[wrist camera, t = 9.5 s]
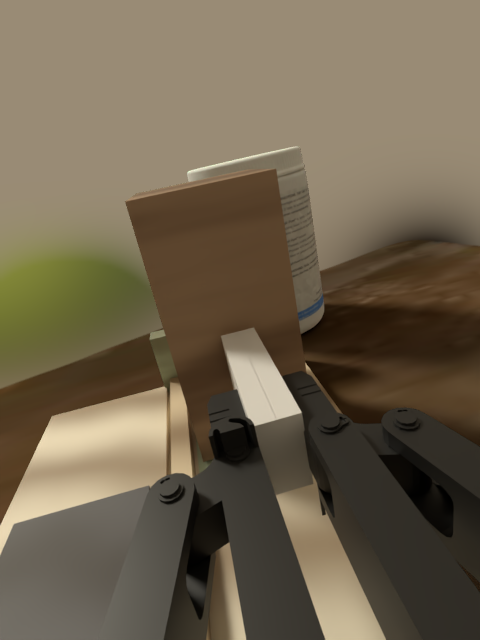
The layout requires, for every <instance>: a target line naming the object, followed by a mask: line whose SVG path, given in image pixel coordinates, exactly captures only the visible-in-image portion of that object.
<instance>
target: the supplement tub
mask: <svg viewBox="0 0 480 640" xmlns="http://www.w3.org/2000/svg"><path fill="white" fill-rule="evenodd" d="M304 167H305V165H304V163H303V161H302V154H301V149H300V147H299V146H296V147H291V148H286V149H281V150H277V151H272V152H267V153H263V154H259V155H254V156H250V157H245V158H241V159H237V160H232V161H228V162H224V163H220V164H215V165H211V166H207V167H203V168H199V169H195V170H191V171H188V172H187V176H188V180H189V182H192V181H197V180H201V179H206V178H210V177H215V176H220V175H224V174H229V173H233V172H238V171H243V170H248V169H276V171H277V177H278V184H279V191H280V197H281V204H282V211H283V218H284V224H285V231H286V238H287V244H288V251H289V258H290V265H291V271H292V278H293V285H294V291H295V298H296V305H297V311H298V318H299V325H300V332H301V334H302V333H304V332H306V331H308V330H310V329H311V328H313V327H314V326H315V325H316V324H317V323H318V322H319V321H320V320H321V318H322V316H323V313H324V301H323V293H322V285H321V278H320V271H319V265H318V256H317V249H316V242H315V234H314V227H313V219H312V212H311V205H310V197H309V190H308V184H307V177H306V171H305V169H304Z"/></svg>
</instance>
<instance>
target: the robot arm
mask: <svg viewBox="0 0 480 640" xmlns="http://www.w3.org/2000/svg"><path fill="white" fill-rule="evenodd" d="M221 339H222V343H223V347H224V351H225V355H226V360H227V364H228V368H229V372H230V376H231V380H232V385H233V389H234V390H232V391H228V392H224V393H221V394H217V395H213V396H211V398H210V400H209V402H208V404H207V408H208V414H209V419H210V425H211V429H210V430H209V436H208V437H209V440H210V444H211V447H212V451H213V454H214V459H213V461H212V462H211V464H210V465H209V466H208V467H207V468H206V469H205V470H204V471H202V472H201V473H199V474H198V475H196V476H194V477H192V478H191V477H190V476H188V475H186V474H184V473H174V474H170V475H166V476H165V477H163V478H161V479H159V480H158V481H157V482H156V483H155V484H154V485H152V486H151V488H150V490H149V492H148V493H147V496H146V499H145V502H144V505H143V508H142V511H141V514H140V516H139V519H138V522H137V525H136V528H135V531H134V534H133V537H132V540H131V543H130V546H129V549H128V552H127V555H126V558H125V561H124V564H123V567H122V569H121V572H120V575H119V578H118V581H117V584H116V587H115V590H114V593H113V596H112V599H111V602H110V605H109V608H108V611H107V614H106V617H105V619H104V622H103V625H102V628H101V631H100V634H99V637H98V640H206V637H207V629H208V620H209V612H210V603H211V595H212V586H213V578H214V569H215V561H216V551H217V550H219V549H220V548H221V547H223V546H224V545H226V544H227V543H230V549H231V555H232V560H233V566H234V572H235V578H236V583H237V589H238V595H239V601H240V606H241V612H242V618H243V624H244V629H245V635H246V640H325V637H324V634H323V631H322V628H321V625H320V623H319V620H318V617H317V614H316V611H315V608H314V605H313V602H312V599H311V596H310V593H309V590H308V588H307V585H306V582H305V579H304V576H303V573H302V570H301V567H300V564H299V561H298V558H297V556H296V553H295V550H294V547H293V544H292V541H291V538H290V535H289V532H288V529H287V526H286V524H285V521H284V518H283V515H282V512H281V509H280V506H279V503H278V500H277V497H276V495H278V494H281V493H284V492H288V491H291V490H294V489H298V488H301V487H304V486H308V485H311V484H313V478H312V474H313V476H314V478H315V480H316V482H317V486H318V493H319V499H320V505H321V511H322V516H323V515H326V512H327V514H328V516H329V519H330V521H331V523H332V525H333V527H334V529H335V531H336V534H337V536H338V538H339V540H340V542H341V544H342V546H343V549H344V551H345V553H346V555H347V557H348V559H349V561H350V563H351V566H352V568H353V570H354V572H355V574H356V576H357V578H358V581H359V583H360V585H361V587H362V589H363V591H364V593H365V595H366V598H367V600H368V602H369V604H370V606H371V608H372V610H373V613H374V615H375V617H376V619H377V621H378V623H379V625H380V628H381V630H382V632H383V634H384V636H385V638H386V640H480V592H479V591H478V589H477V588H476V587H475V585H474V584H473V583H472V581H471V580H470V579H469V577H468V576H467V575H466V573H465V572H464V570H463V569H462V568H461V566H460V565H459V564H458V563H460V564H461V565H462V566H463V567H464V568H465V569H466V570H467V571H468V572H469V573H470V574H471V575H472V576H473V577H475V578H476V579H477V580H478V581H479V582H480V447H479V446H478V445H476V444H474V443H473V442H471V441H469V440H468V439H466V438H465V437H463V436H461V435H460V434H458V433H456V432H455V431H453V430H451V429H450V428H448V427H446V426H445V425H443V424H441V423H440V422H438V421H437V420H435V419H433V418H432V417H430V416H428V415H427V414H425V413H423V412H421V411H419V410H416V409H412V408H395V409H392V410H389V411H388V412H386V413H385V414H384V415H383V417H382V420H381V422H382V423H377V424H358V423H353V421H352V420H351V419H350V418H349V417H348V416H346V415H344V414H341V413H338V412H337V411H336V410H335V408H334V407H333V405H332V404H331V403H330V401H329V400H328V398H327V397H326V396H325V394H324V393H323V391H321V389H320V387H319V386H318V385H317V383H316V382H315V380H314V379H313V377H312V376H311V375H309V374H307V373H305V372H303V371H298V372H295V373H291V374H287V375H283V376H281V375H280V373H279V371H278V369H277V368H276V366H275V364H274V362H273V361H272V359H271V357H270V355H269V354H268V352H267V350H266V348H265V346H264V345H263V343H262V341H261V339H260V338H259V336H258V334H257V332H256V331H255V329H254V328H250V329H246V330H242V331H238V332H234V333H230V334H226V335H222V336H221ZM325 510H326V512H325Z"/></svg>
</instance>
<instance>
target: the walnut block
mask: <svg viewBox="0 0 480 640" xmlns="http://www.w3.org/2000/svg"><path fill="white" fill-rule="evenodd" d="M125 202H126V206H127V209H128V212H129V216H130V219H131V222H132V226H133V229H134V232H135V236H136V239H137V242H138V245H139V248H140V252H141V255H142V259H143V262H144V266H145V269H146V272H147V275H148V279H149V282H150V286H151V289H152V292H153V296H154V299H155V302H156V305H157V309H158V312H159V315H160V319H161V322H162V325H163V329H164V332H165V335H166V339H167V342H168V345H169V349H170V352H171V355H172V359H173V362H174V365H175V369H176V372H177V375H178V379H179V382H180V385H181V389H182V392H183V395H184V399H185V402H186V405H187V409H188V412H189V415H190V419H191V422H192V425H193V429H194V432H195V435H196V439H197V442H198V445H199V449H200V452H201V455H202V459H203V462H205V461H209V460H212V459H214V454H213V451H212V447H211V444H210V440H209V437H208V436H209V430H210V429H211V425H210V419H209V414H208V408H207V404H208V402H209V400H210V398H211V396H213V395H217V394H221V393H224V392H228V391H232V390H234V389H233V385H232V380H231V376H230V372H229V368H228V364H227V360H226V355H225V351H224V347H223V343H222V339H221V336H222V335H226V334H230V333H234V332H238V331H242V330H246V329H250V328H254V329H255V331H256V332H257V334H258V336H259V338H260V339H261V341H262V343H263V345H264V346H265V348H266V350H267V352H268V354H269V355H270V357H271V359H272V361H273V362H274V364H275V366H276V368H277V369H278V371H279V373H280V375H281V376H283V375H287V374H291V373H295V372H298V371H303V372H305V373H307V372H306V365H305V358H304V352H303V345H302V338H301V332H300V325H299V318H298V311H297V305H296V298H295V291H294V285H293V278H292V271H291V265H290V258H289V251H288V244H287V238H286V231H285V224H284V218H283V211H282V204H281V197H280V191H279V184H278V177H277V171H276V169H248V170H243V171H238V172H233V173H229V174H224V175H220V176H215V177H210V178H206V179H201V180H197V181H192V182H188V183H183V184H178V185H174V186H169V187H165V188H160V189H155V190H151V191H146V192H142V193H137V194H135V195H134V196H132V197H131V198H130V199H128V200H127V201H125Z"/></svg>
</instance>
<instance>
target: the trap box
mask: <svg viewBox="0 0 480 640" xmlns="http://www.w3.org/2000/svg"><path fill="white" fill-rule="evenodd" d="M150 342H151V345H152V348H153V351H154V354H155V357H156V361H157V364H158V367H159V370H160V373H161V376H162V379H163V382H164V386H165V387H161V388H158V389H154V390H150V391H146V392H142V393H139V394H135V395H131V396H127V397H123V398H120V399H116V400H112V401H108V402H104V403H101V404H97V405H93V406H89V407H85V408H82V409H78V410H74V411H70V412H66V413H63V414H59V415H55V416H52V417H51V420H50V422H49V424H48V426H47V428H46V430H45V432H44V434H43V436H42V439H41V441H40V443H39V445H38V447H37V449H36V451H35V453H34V456H33V458H32V460H31V462H30V464H29V466H28V468H27V470H26V472H25V475H24V477H23V479H22V481H21V483H20V485H19V487H18V489H17V492H16V494H15V496H14V498H13V500H12V502H11V504H10V506H9V508H8V511H7V513H6V515H5V517H4V519H3V521H2V523H1V525H0V640H98V637H99V634H100V631H101V628H102V625H103V622H104V619H105V617H106V614H107V611H108V608H109V605H110V602H111V599H112V596H113V593H114V590H115V587H116V584H117V581H118V578H119V575H120V572H121V569H122V567H123V564H124V561H125V558H126V555H127V552H128V549H129V546H130V543H131V540H132V537H133V534H134V531H135V528H136V525H137V522H138V519H139V516H140V514H141V511H142V508H143V505H144V502H145V499H146V496H147V493H148V492H149V490H150V488H151V486H152V485H154V484H155V483H156V482H157V481H158V480H159V479H161V478H163V477H165V476H166V475H170V474H174V473H184V474H186V475H188V476H190V477H191V478H192V477H194V476H196V475H198V474H199V473H201V472H202V471H204V470H205V469H206V468H207V467H208V466H209V465H210V464H211V462H212V461H213V459H212V460H209V461H205V462H203V459H202V455H201V452H200V449H199V445H198V442H197V439H196V435H195V432H194V429H193V425H192V422H191V419H190V415H189V412H188V409H187V405H186V402H185V399H184V395H183V392H182V389H181V385H180V382H179V379H178V375H177V372H176V369H175V365H174V362H173V359H172V355H171V352H170V349H169V345H168V342H167V339H166V335H165V332H164V330H160V331H156V332H152V333H151V334H150ZM305 365H306V372H307V374H309V375H311V376H312V377H313V379H314V380H315V382H316V383H317V385H318V386H319V387H320V389H321V391H323V393H324V394H325V396H326V397H327V398H328V400H329V401H330V403H331V404H332V405H333V407H334V408H335V410H336V411H337V412H338V413H341V411H340V410H339V408H338V407H337V406H336V404H335V403H334V402H333V400H332V399H331V397H330V396H329V395H328V393H327V392H326V390H325V389H324V388H323V386H322V385H321V384H320V382H319V381H318V379H317V378H316V377H315V375H314V374H313V373H312V371H311V370H310V368H309V367H308V366H307V364H306V363H305ZM341 414H342V413H341ZM312 478H313V484H311V485H308V486H304V487H301V488H298V489H294V490H291V491H288V492H284V493H281V494H278V495H276V497H277V500H278V503H279V506H280V509H281V512H282V515H283V518H284V521H285V524H286V526H287V529H288V532H289V535H290V538H291V541H292V544H293V547H294V550H295V553H296V556H297V558H298V561H299V564H300V567H301V570H302V573H303V576H304V579H305V582H306V585H307V588H308V590H309V593H310V596H311V599H312V602H313V605H314V608H315V611H316V614H317V617H318V620H319V623H320V625H321V628H322V631H323V634H324V637H325V640H386V638H385V636H384V634H383V632H382V630H381V628H380V625H379V623H378V621H377V619H376V617H375V615H374V613H373V610H372V608H371V606H370V604H369V602H368V600H367V598H366V595H365V593H364V591H363V589H362V587H361V585H360V583H359V581H358V578H357V576H356V574H355V572H354V570H353V568H352V566H351V563H350V561H349V559H348V557H347V555H346V553H345V551H344V549H343V546H342V544H341V542H340V540H339V538H338V536H337V534H336V531H335V529H334V527H333V525H332V523H331V521H330V519H329V516H328V514H327V512H326V510H325V512H326V515H323V516H322V511H321V505H320V499H319V493H318V486H317V482H316V480H315V478H314V476H313V474H312ZM206 640H246V635H245V629H244V624H243V618H242V612H241V606H240V601H239V595H238V589H237V583H236V578H235V572H234V566H233V560H232V555H231V549H230V543H227V544H226V545H224V546H223V547H221V548H220V549H219V550H217V551H216V561H215V569H214V578H213V586H212V595H211V603H210V612H209V620H208V629H207V637H206Z"/></svg>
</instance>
